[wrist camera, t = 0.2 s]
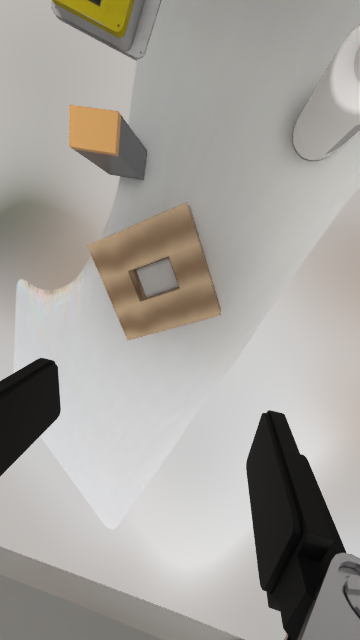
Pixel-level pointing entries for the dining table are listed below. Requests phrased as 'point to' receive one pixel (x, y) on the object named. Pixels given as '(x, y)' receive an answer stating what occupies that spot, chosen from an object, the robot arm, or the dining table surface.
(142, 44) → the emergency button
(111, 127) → the key peg
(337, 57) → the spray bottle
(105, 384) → the dining table surface
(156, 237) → the socket block
